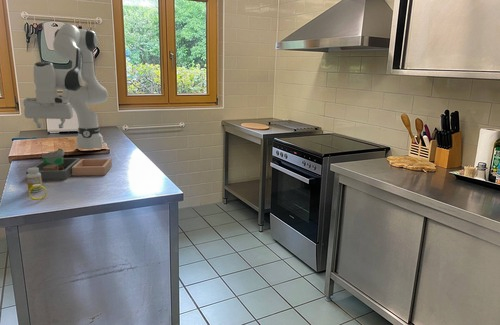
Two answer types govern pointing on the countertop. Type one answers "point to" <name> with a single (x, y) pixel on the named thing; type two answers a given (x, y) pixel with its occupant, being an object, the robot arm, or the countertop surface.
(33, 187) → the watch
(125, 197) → the countertop surface
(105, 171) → the terracotta bin
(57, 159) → the food container
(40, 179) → the supplement bottle
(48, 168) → the walnut block
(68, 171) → the charcoal bin
